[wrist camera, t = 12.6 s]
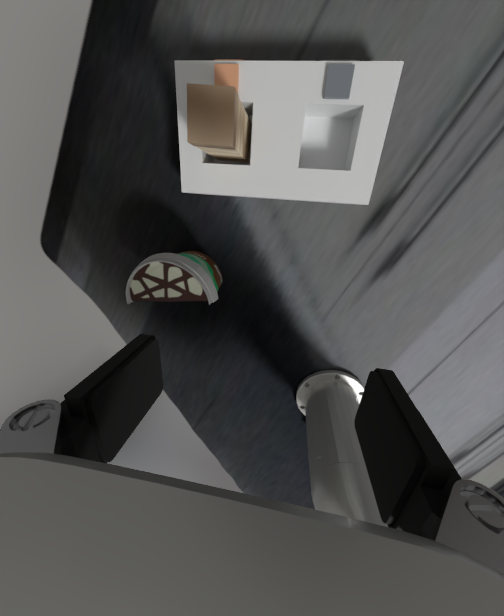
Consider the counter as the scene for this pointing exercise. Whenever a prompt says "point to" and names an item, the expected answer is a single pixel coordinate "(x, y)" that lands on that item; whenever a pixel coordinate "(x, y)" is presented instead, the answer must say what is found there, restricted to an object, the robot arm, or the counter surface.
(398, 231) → the counter surface
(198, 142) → the plug
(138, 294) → the food container
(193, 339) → the counter surface
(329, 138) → the socket block
